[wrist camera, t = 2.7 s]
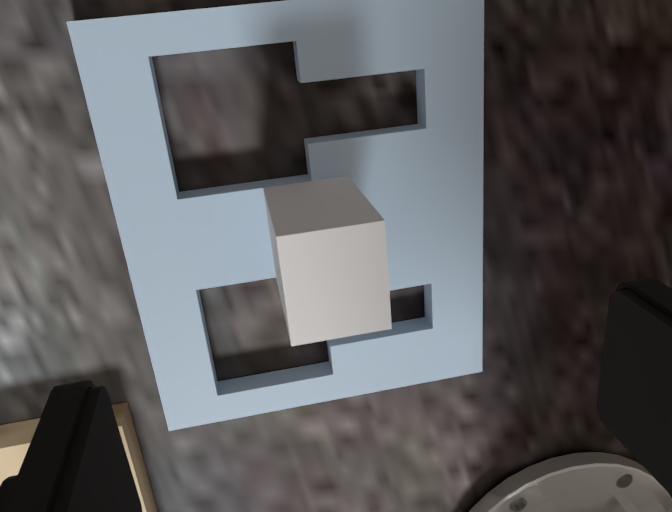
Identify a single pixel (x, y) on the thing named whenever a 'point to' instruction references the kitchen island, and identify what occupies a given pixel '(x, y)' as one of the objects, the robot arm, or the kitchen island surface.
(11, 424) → the board
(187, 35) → the panel
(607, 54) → the kitchen island surface
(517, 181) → the kitchen island surface
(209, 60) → the kitchen island surface
